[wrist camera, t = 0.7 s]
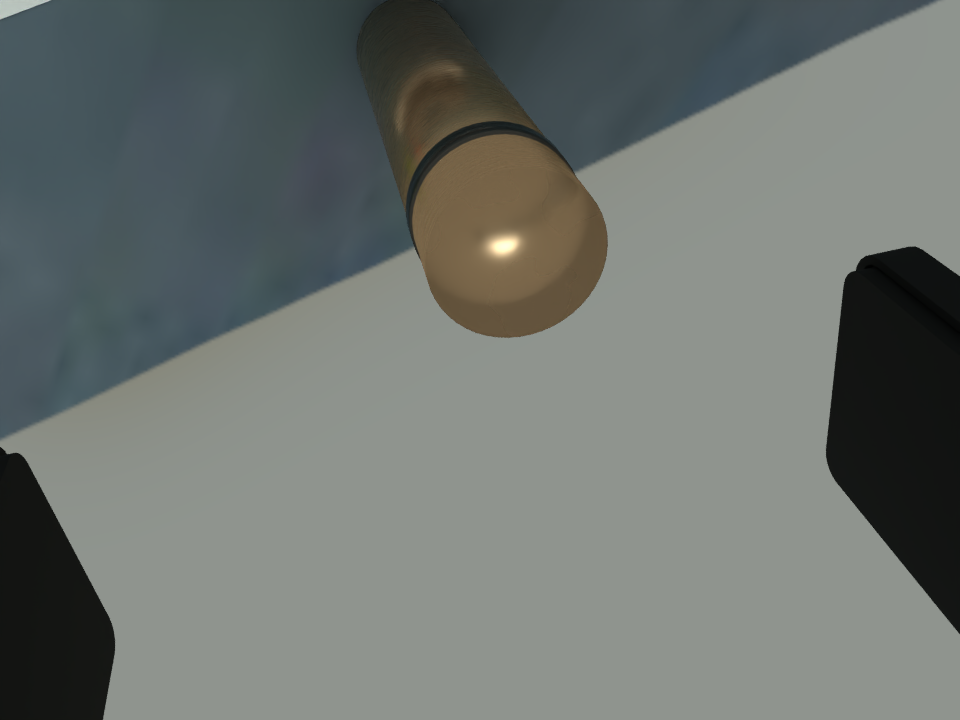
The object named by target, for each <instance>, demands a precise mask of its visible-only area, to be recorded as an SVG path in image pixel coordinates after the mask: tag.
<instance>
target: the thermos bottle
mask: <svg viewBox="0 0 960 720" xmlns="http://www.w3.org/2000/svg"><path fill="white" fill-rule="evenodd" d="M357 59H358V65H359V68H360V71H361V74H362V77H363V80H364V83H365V86H366V90H367V93H368V96H369V99H370V102H371V105H372V108H373V112H374V115H375V118H376V121H377V124H378V127H379V130H380V133H381V137H382V140H383V143H384V146H385V149H386V152H387V155H388V158H389V162H390V165H391V168H392V171H393V174H394V177H395V180H396V183H397V187H398V190H399V193H400V196H401V199H402V202H403V205H404V209H405V212H406V218H407V224H408V228H409V231H410V234H411V237H412V241H413V244H414V247H415V250H416V252H417V254H418V256H419V258H420V260H421V262H422V265H423V268H424V271H425V274H426V277H427V280H428V284H429V286H430V290H431V292H432V294H433V296H434V298H435V300H436V301H437V303H438V304H439V306H440V307H441V309H442V310H443V311H444V312H445V313H446V314H447V315H448V316H449V317H450V318H451V319H453V320H454V321H455V322H456V323H458V324H460V325H461V326H463V327H465V328H466V329H469V330H471V331H474V332H476V333H479V334H483V335H486V336H493V337H505V338H506V337H507V338H510V337H521V336H525V335H531V334H534V333H537V332H540V331H543V330H545V329H548V328H550V327H552V326H554V325H556V324H557V323H559V322H561V321H563V320H564V319H565V318H567V317H568V316H569V315H571V314H572V313H573V312H574V311H575V310H576V309H577V308H579V307H580V306H581V305H582V303H583V302H584V301H585V300H586V299H587V298H588V297H589V295H590V294H591V292H592V291H593V289H594V288H595V286H596V284H597V282H598V280H599V278H600V276H601V273H602V271H603V268H604V264H605V261H606V256H607V246H608V244H607V243H608V242H607V231H606V225H605V222H604V218H603V216H602V213H601V211H600V209H599V207H598V205H597V203H596V202H595V201H594V199H593V198H592V197H591V195H590V194H589V193H588V191H587V190H586V189H585V187H584V186H583V185H582V184H581V182H580V181H579V180H578V179H577V177H576V176H575V174H574V172H573V170H572V168H571V166H570V165H569V164H568V162H567V161H566V160H565V158H564V157H563V156H562V154H561V153H560V152H559V151H558V149H557V148H556V147H555V146H554V145H553V144H552V143H551V142H550V141H549V140H548V139H547V138H545V136H544V135H543V134H542V132H541V131H540V130H539V129H538V127H537V126H536V125H535V124H534V122H533V121H532V120H531V118H530V117H529V116H528V115H527V113H526V112H525V111H524V109H523V108H522V107H521V106H520V104H519V103H518V102H517V101H516V99H515V98H514V97H513V95H512V94H511V93H510V92H509V90H508V89H507V88H506V87H505V85H504V84H503V83H502V81H501V80H500V79H499V78H498V76H497V75H496V74H495V72H494V71H493V70H492V69H491V67H490V66H489V65H488V64H487V62H486V61H485V60H484V58H483V57H482V56H481V55H480V53H479V52H478V51H477V49H476V48H475V47H474V46H473V44H472V43H471V42H470V41H469V39H468V38H467V37H466V35H465V34H464V33H463V32H462V30H461V29H460V28H459V26H458V25H457V24H456V23H455V21H454V20H453V19H452V18H451V16H450V15H449V14H448V13H447V12H446V11H445V10H444V9H443V8H442V7H441V6H439V5H438V4H436V3H434V2H433V1H431V0H389V1H386V2H384V3H383V4H381V5H380V6H378V7H377V8H376V9H375V10H374V11H373V12H372V13H371V14H370V15H369V16H368V18H367V19H366V20H365V22H364V24H363V26H362V28H361V30H360V33H359V37H358V41H357Z"/></svg>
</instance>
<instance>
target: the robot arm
mask: <svg viewBox="0 0 960 720" xmlns="http://www.w3.org/2000/svg"><path fill="white" fill-rule="evenodd" d="M826 458H827V463H828V466H829V469H830V472H831V474H832V476H833V477H834V479H835V481H836V482H837V484H838V485H839V486H840V487H841V488H842V490H843V491H844V492H845V493H846V495H847V496H848V497H849V498H850V500H851V501H852V502H853V503H854V504H855V506H856V507H857V508H858V509H859V511H860V512H861V513H862V514H863V515H864V517H865V518H866V519H867V520H868V522H869V523H870V524H871V525H872V527H873V528H874V529H875V530H876V532H877V533H878V534H879V535H880V537H881V538H882V539H883V540H884V541H885V543H886V544H887V545H888V546H889V548H890V549H891V550H892V551H893V552H894V554H895V555H896V556H897V557H898V559H899V560H900V561H901V562H902V564H903V565H904V566H905V567H906V569H907V570H908V571H909V572H910V573H911V575H912V576H913V577H914V578H915V580H916V581H917V582H918V583H919V585H920V586H921V587H922V588H923V589H924V591H925V592H926V593H927V594H928V596H929V597H930V598H931V599H932V601H933V602H934V603H935V604H936V605H937V607H938V608H939V609H940V610H941V612H942V613H943V614H944V615H945V616H946V618H947V619H948V620H949V621H950V623H951V624H952V625H953V626H954V627H955V629H956V630H957V631H958V633H959V634H960V276H958V275H957V274H956V273H954V272H953V271H952V270H950V269H949V268H947V267H946V266H944V265H943V264H942V263H940V262H939V261H937V260H936V259H935V258H933V257H932V256H930V255H929V254H928V253H926V252H925V251H923V250H922V249H920V248H917V247H906V248H901V249H896V250H891V251H887V252H882V253H878V254H873V255H868V256H865V257H864V258H862V259H861V260H860V262H859V263H858V265H857V268H856V271H853V272H851V273H849V274H848V275H847V277H846V279H845V282H844V288H843V298H842V307H841V316H840V325H839V335H838V343H837V353H836V362H835V371H834V381H833V390H832V399H831V408H830V418H829V427H828V436H827V445H826ZM114 654H115V637H114V631H113V627H112V623H111V621H110V618H109V616H108V614H107V612H106V611H105V609H104V607H103V605H102V603H101V601H100V599H99V597H98V595H97V594H96V592H95V590H94V588H93V586H92V584H91V582H90V581H89V579H88V576H87V575H86V573H85V571H84V569H83V567H82V565H81V564H80V561H79V560H78V558H77V556H76V554H75V552H74V550H73V548H72V546H71V544H70V542H69V540H68V539H67V537H66V535H65V533H64V531H63V529H62V527H61V525H60V523H59V522H58V520H57V518H56V516H55V514H54V512H53V510H52V508H51V506H50V504H49V503H48V501H47V499H46V497H45V495H44V493H43V491H42V489H41V487H40V485H39V484H38V482H37V480H36V478H35V476H34V474H33V472H32V470H31V468H30V467H29V465H28V463H27V461H26V460H25V458H24V457H23V456H22V455H20V454H19V453H12V454H6V452H5V451H4V450H3V449H2V448H1V447H0V720H103V715H104V710H105V704H106V699H107V693H108V688H109V682H110V676H111V671H112V665H113V659H114Z"/></svg>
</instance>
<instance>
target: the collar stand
mask: <svg viewBox="0 0 960 720" xmlns="http://www.w3.org/2000/svg"><path fill="white" fill-rule="evenodd" d="M47 1H50V0H0V19H3V18H5V17H8V16H10V15H13V14H16V13H18V12H21V11H24V10H26V9H29V8H31V7H34V6H37V5H39V4H42V3H45V2H47Z"/></svg>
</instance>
